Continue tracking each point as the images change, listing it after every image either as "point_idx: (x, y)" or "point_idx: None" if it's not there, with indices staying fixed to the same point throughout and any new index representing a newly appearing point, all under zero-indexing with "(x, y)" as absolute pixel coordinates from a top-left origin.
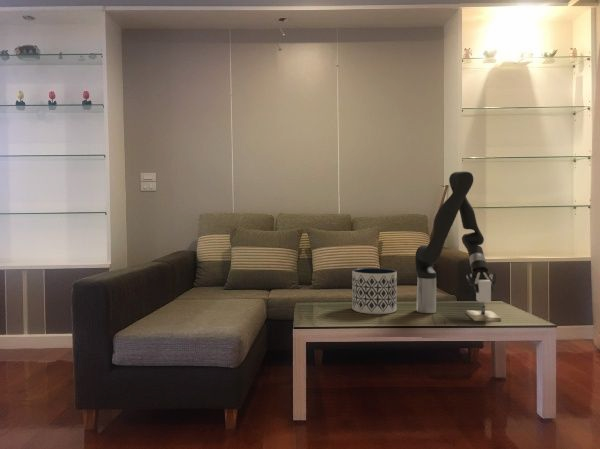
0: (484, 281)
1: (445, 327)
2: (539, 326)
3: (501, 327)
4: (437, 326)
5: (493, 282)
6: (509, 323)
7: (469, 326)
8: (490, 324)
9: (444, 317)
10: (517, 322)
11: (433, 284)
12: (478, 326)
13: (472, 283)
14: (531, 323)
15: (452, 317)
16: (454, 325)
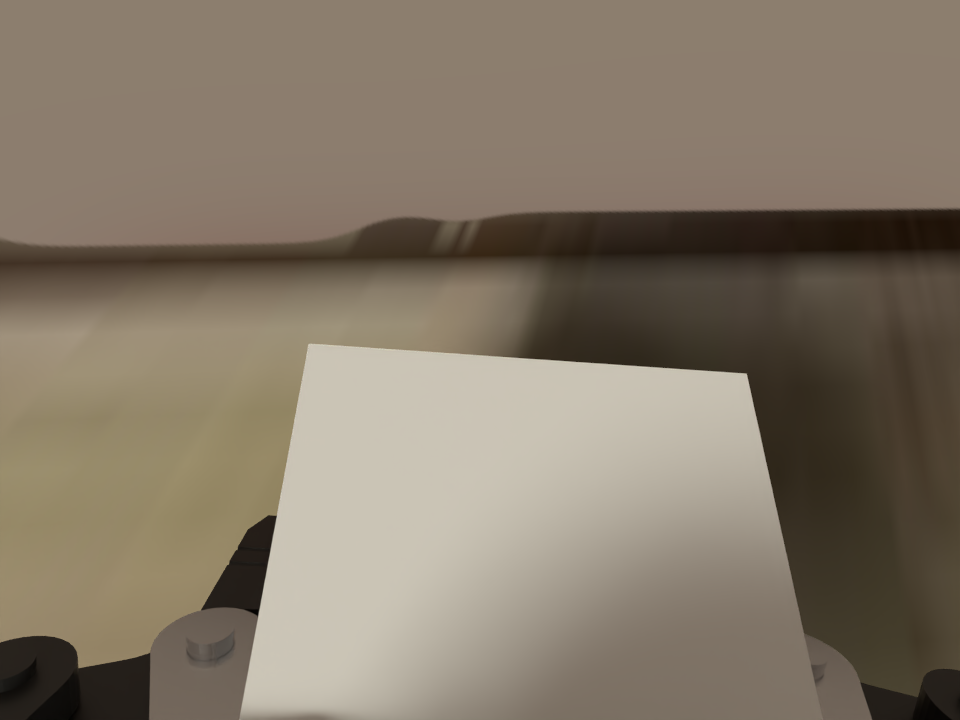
0: (552, 364)
1: (871, 216)
2: (30, 255)
3: (420, 220)
4: (936, 242)
5: (70, 659)
6: (267, 358)
7: (685, 245)
8: (482, 314)
9: (946, 624)
10: (147, 406)
11: None
12: (609, 246)
13: (917, 707)
14: (14, 367)
15: (852, 633)
16: (807, 273)
